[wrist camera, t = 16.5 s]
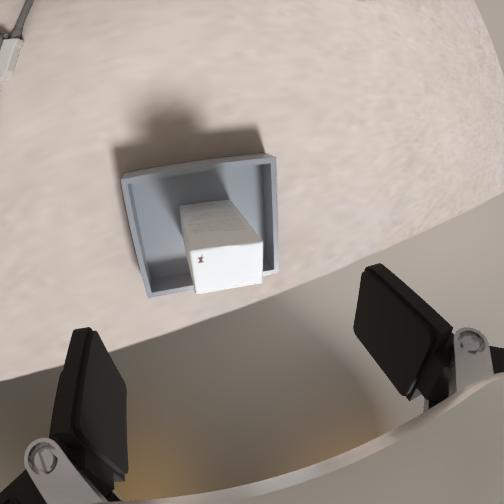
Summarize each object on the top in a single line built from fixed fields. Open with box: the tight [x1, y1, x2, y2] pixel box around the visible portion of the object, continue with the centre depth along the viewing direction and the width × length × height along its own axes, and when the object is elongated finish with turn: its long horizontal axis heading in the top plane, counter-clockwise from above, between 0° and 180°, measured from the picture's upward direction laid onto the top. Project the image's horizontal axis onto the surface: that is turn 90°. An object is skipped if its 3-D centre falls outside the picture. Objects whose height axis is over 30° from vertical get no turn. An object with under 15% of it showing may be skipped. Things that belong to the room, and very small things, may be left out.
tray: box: [121, 153, 279, 298], centre depth 34 cm, size 16×14×4 cm
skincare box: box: [179, 200, 263, 294], centre depth 29 cm, size 6×4×12 cm
